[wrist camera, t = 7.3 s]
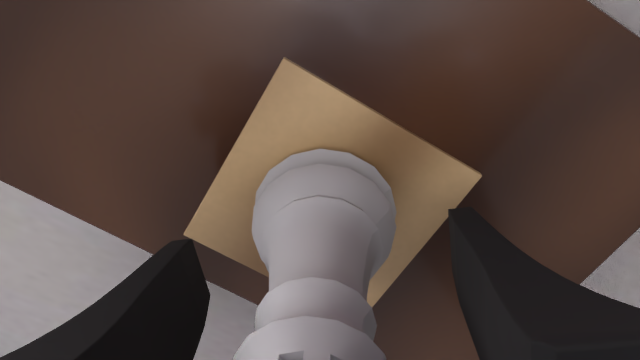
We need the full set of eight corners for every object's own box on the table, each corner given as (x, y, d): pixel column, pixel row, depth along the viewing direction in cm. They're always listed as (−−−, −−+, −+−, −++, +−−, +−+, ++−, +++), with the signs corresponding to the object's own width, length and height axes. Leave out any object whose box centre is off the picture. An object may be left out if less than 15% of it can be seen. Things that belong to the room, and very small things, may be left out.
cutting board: (718, 98, 17) (760, 121, 15) (449, 367, 23) (457, 406, 21) (-164, -520, 12) (-254, -594, 10) (-222, 33, 18) (-286, 48, 16)
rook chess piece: (360, 119, 16) (367, 294, 9) (416, 235, 18) (460, 460, 11) (230, 175, 17) (143, 372, 10) (295, 280, 19) (261, 511, 12)
